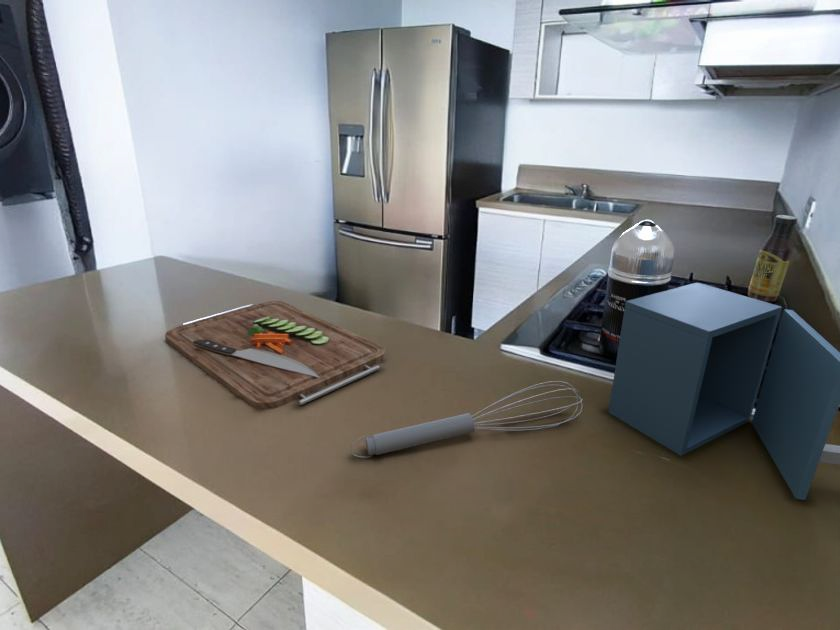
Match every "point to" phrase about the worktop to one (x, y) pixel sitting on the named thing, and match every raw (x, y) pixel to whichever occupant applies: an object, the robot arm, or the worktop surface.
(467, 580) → the worktop surface
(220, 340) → the chopping board
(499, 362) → the worktop surface
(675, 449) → the cupboard
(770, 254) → the sauce bottle
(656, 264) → the black domed canister
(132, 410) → the worktop surface
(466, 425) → the kitchen whisk
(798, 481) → the cupboard door
